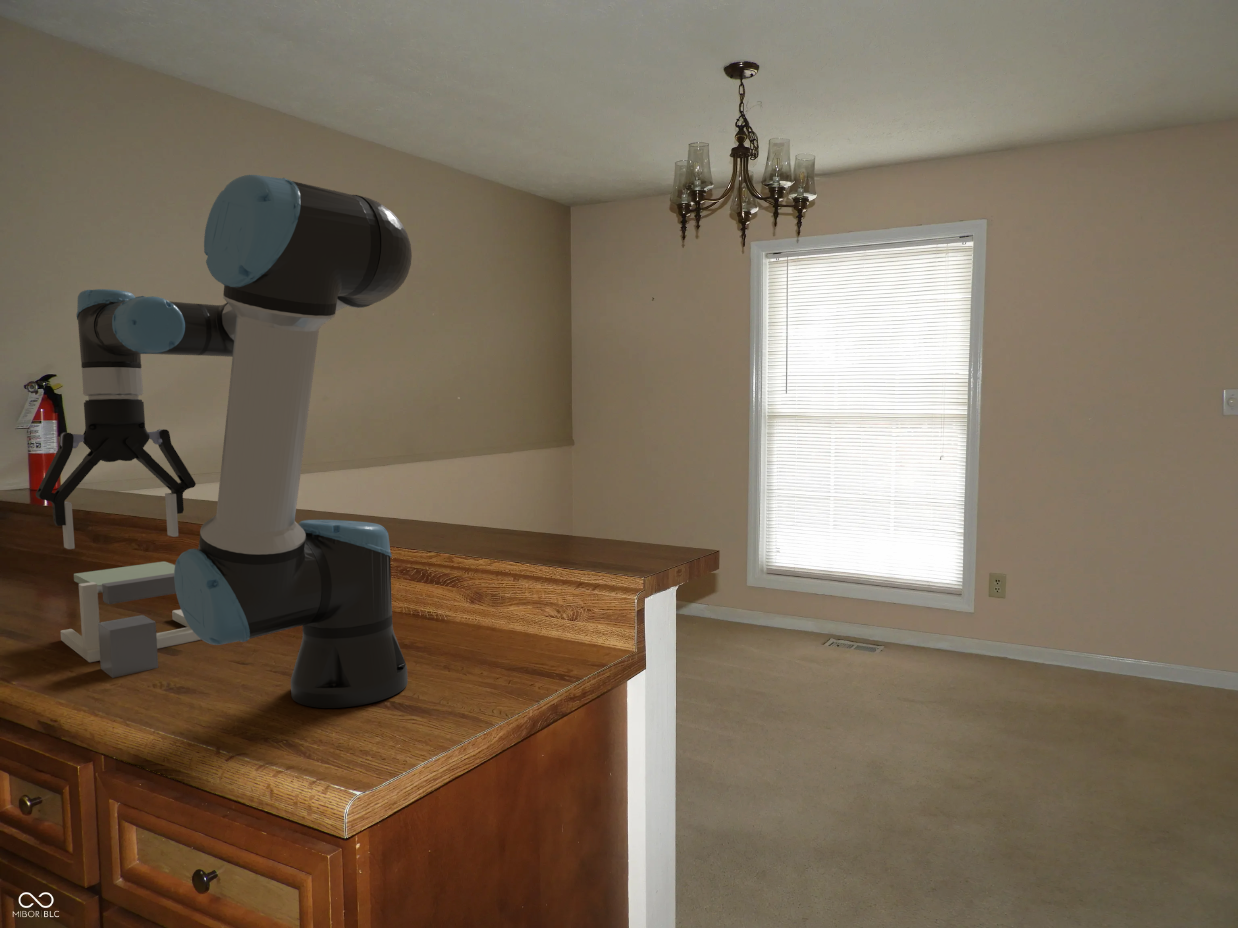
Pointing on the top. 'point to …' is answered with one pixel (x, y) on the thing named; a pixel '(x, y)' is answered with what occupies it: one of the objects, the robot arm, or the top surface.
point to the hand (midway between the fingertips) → (123, 541)
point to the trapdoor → (132, 581)
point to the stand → (90, 619)
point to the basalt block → (128, 645)
